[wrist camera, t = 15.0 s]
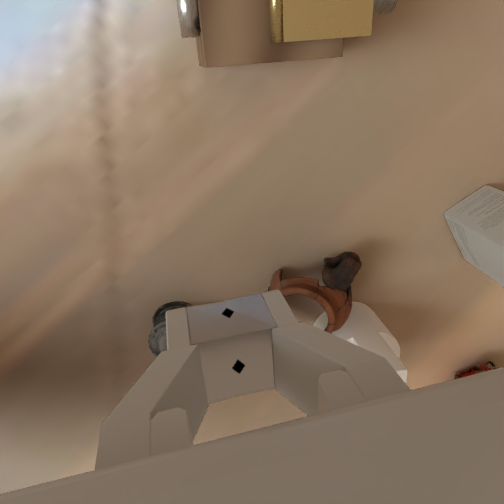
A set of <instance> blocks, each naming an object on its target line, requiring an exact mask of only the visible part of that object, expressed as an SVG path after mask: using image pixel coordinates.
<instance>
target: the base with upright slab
mask: <svg viewBox="0 0 504 504" xmlns="http://www.w3.org/2000/svg"><path fill="white" fill-rule="evenodd" d="M327 324H328V317H327V314H326V312H325V311H324V312H323V313H322V314H321V315H320V316H319V317H318V318H317V320H316V321H315V322H314V324H313V326H314V327H317V328H319V329H321V330H323V331H324V329H325V328H326V327H327ZM332 335H335V336H337V337H339V338H341V339H344V340H346V341H348V342H350V343H353V344H355V345H357V346H359V347H362V348H364V349H366V350H368V351H371V352H373V353H375V354H377V355H380V356H382V357H384V358H386V360H387V361H388V362H389V363H390V365H391V366H392V367H393V368H394V370H395V371H396V372H397V373H398V375H399V376H400V377H401V378H402V380H403V381H404V382H405V383H406V379H407V371H408V370H407V369H406V368H405V366H404V365H403V364H402V362H401V361H400V360H399V358H400V346H399V344H398V342H397V340H396V339H395V338H394V336H393V335H392V334H391V333H390V331H389V330H388V329H387V328H386V326H385V325H384V324H383V323H382V321H381V320H380V319H379V318H378V316H377V315H376V314H375V313H374V311H373V310H372V309H371V308H370V307H369V306H367V305H365V304H363V303H361V302H355V301H352V309H351V312H350V314H349V317H348V319H347V321H346V322H345V324H344V325H343V326H342V327H341V328H340V329H339V330H337V331H334V332H332Z"/></svg>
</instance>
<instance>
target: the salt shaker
mask: <svg viewBox="0 0 504 504" xmlns="http://www.w3.org/2000/svg"><path fill="white" fill-rule="evenodd" d="M189 306H191V305H190V304H187V303H184V302H170V303H167V304H165V305H163V306H161V307H160V308H159V309H158V310H157V311H156V313H155V314H154V317H153V327H154V329H153V330H152V331H151V333H150V335H149V341H148V342H149V348H150V349H151V351H152V353H153V354H154V355H155V356H156V357H157V356H158V355H159V354H160V353H161V352H162V351H167V336H166V311H168V310H173V309H178V308H183V307H185V308H186V307H189ZM186 310H187V309H186Z"/></svg>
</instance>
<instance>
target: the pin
mask: <svg viewBox="0 0 504 504" xmlns="http://www.w3.org/2000/svg"><path fill="white" fill-rule="evenodd" d="M176 1H177V9H178V16H179V23H180V30H181V35H182V38H188V37H199V26H200V18H199V9H198V0H176ZM396 2H397V0H374V3H373V14H388V13H390V12H392V10H393V9H394V7H395V5H396Z"/></svg>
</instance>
